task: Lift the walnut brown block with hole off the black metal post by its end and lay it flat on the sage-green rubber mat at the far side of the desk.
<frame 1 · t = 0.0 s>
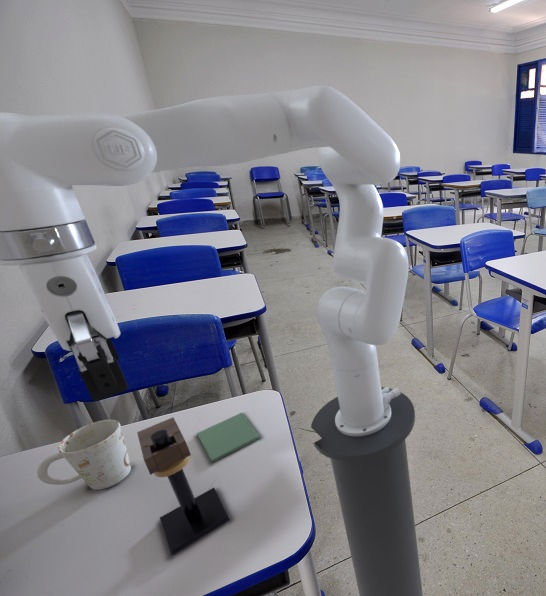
hand: (107, 378, 46), 30 cm above the table, tool pointing down, fingers open, 9 cm apart
brown block with hole: (168, 458, 56), point 13 cm above the table, tilted 11°, touching hanging post
mat: (228, 436, 79), on the table
hanging post: (195, 520, 61), on the table
mug: (97, 483, 70), on the table
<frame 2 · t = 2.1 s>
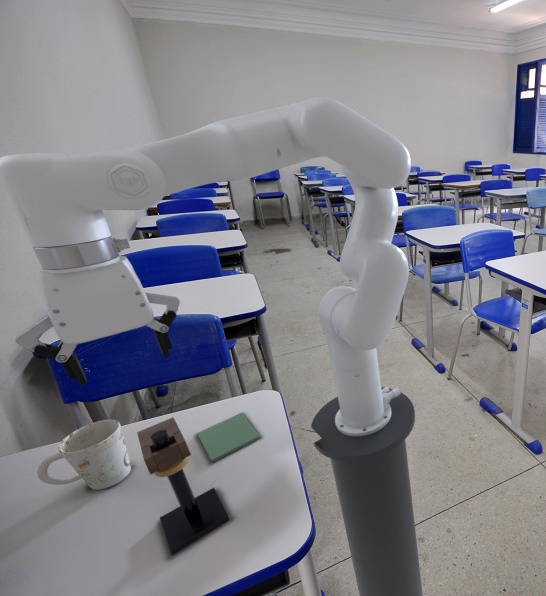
hand: (126, 367, 55), 27 cm above the table, tool pointing down, fingers open, 9 cm apart
nothing on the table moved.
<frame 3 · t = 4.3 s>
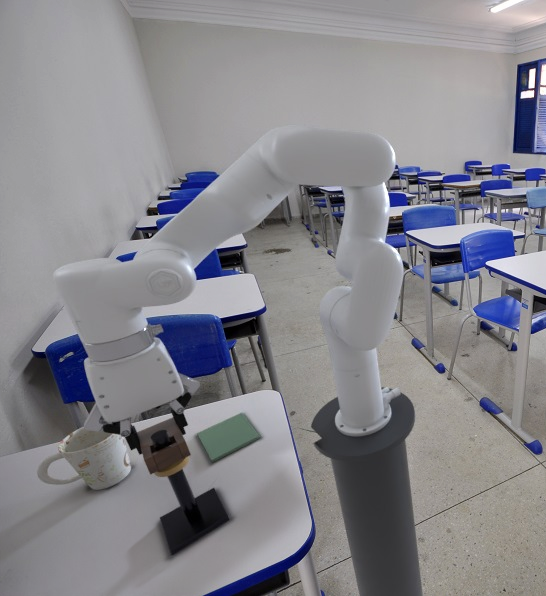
hand: (161, 439, 62), 12 cm above the table, tool pointing down, fingers closed on brown block with hole, 5 cm apart
brown block with hole: (168, 458, 56), point 13 cm above the table, tilted 11°, touching gripper, hanging post
everything else where it was.
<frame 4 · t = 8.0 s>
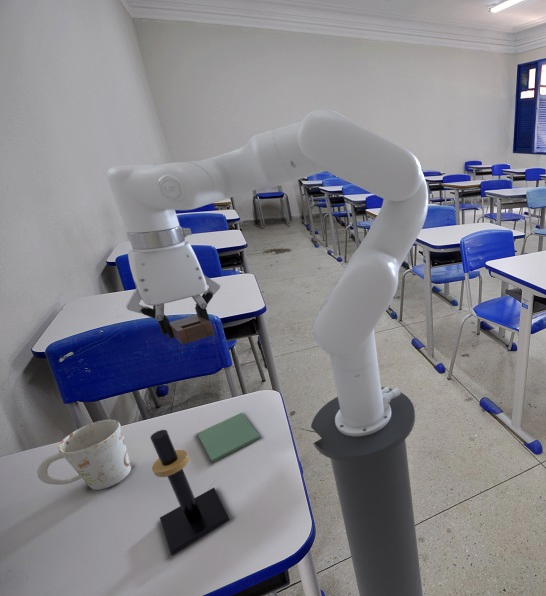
hand: (187, 330, 73), 24 cm above the table, tool pointing down, fingers closed on brown block with hole, 5 cm apart
brown block with hole: (196, 337, 68), point 25 cm above the table, tilted 10°, touching gripper
everything else where it was.
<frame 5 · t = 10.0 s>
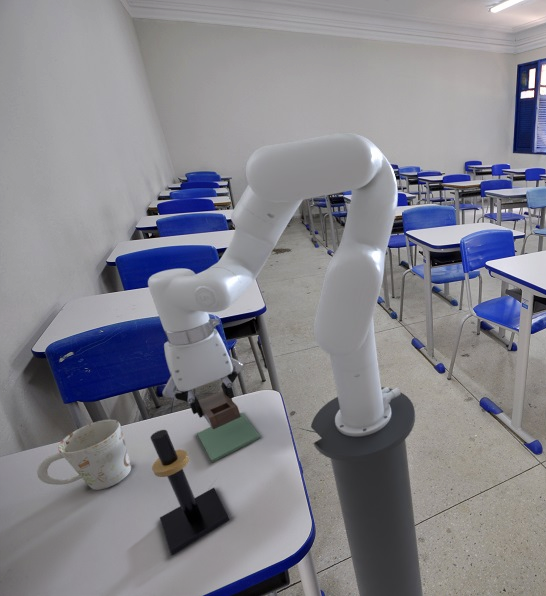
hand: (214, 407, 80), 6 cm above the table, tool pointing down, fingers closed on brown block with hole, 5 cm apart
brown block with hole: (224, 419, 75), point 7 cm above the table, tilted 10°, touching gripper
everything else where it was.
when the fingers open (1 cm above the table, at t = 11.6 s): brown block with hole drops 2 cm, resting on mat.
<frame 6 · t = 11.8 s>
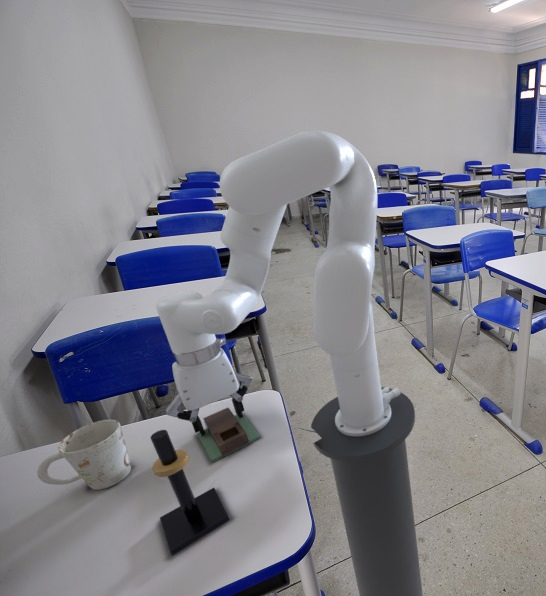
hand: (221, 422, 82), 1 cm above the table, tool pointing down, fingers open, 6 cm apart
brown block with hole: (232, 442, 77), point 1 cm above the table, touching mat
everything else where it was.
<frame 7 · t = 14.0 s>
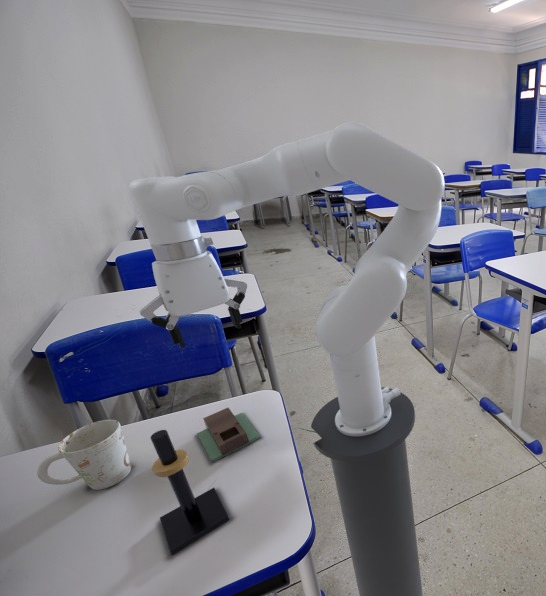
hand: (211, 335, 73), 23 cm above the table, tool pointing down, fingers open, 9 cm apart
nothing on the table moved.
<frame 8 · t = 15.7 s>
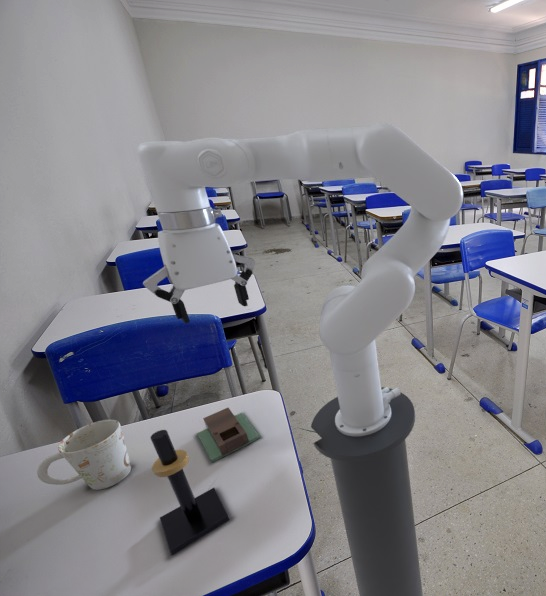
hand: (215, 312, 70), 28 cm above the table, tool pointing down, fingers open, 9 cm apart
nothing on the table moved.
at the end: brown block with hole inside the target area on the mat (0.8 cm from its centre), point 0.6 cm above the mat's base; brown block with hole tilted 0°; the gripper is holding nothing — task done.
